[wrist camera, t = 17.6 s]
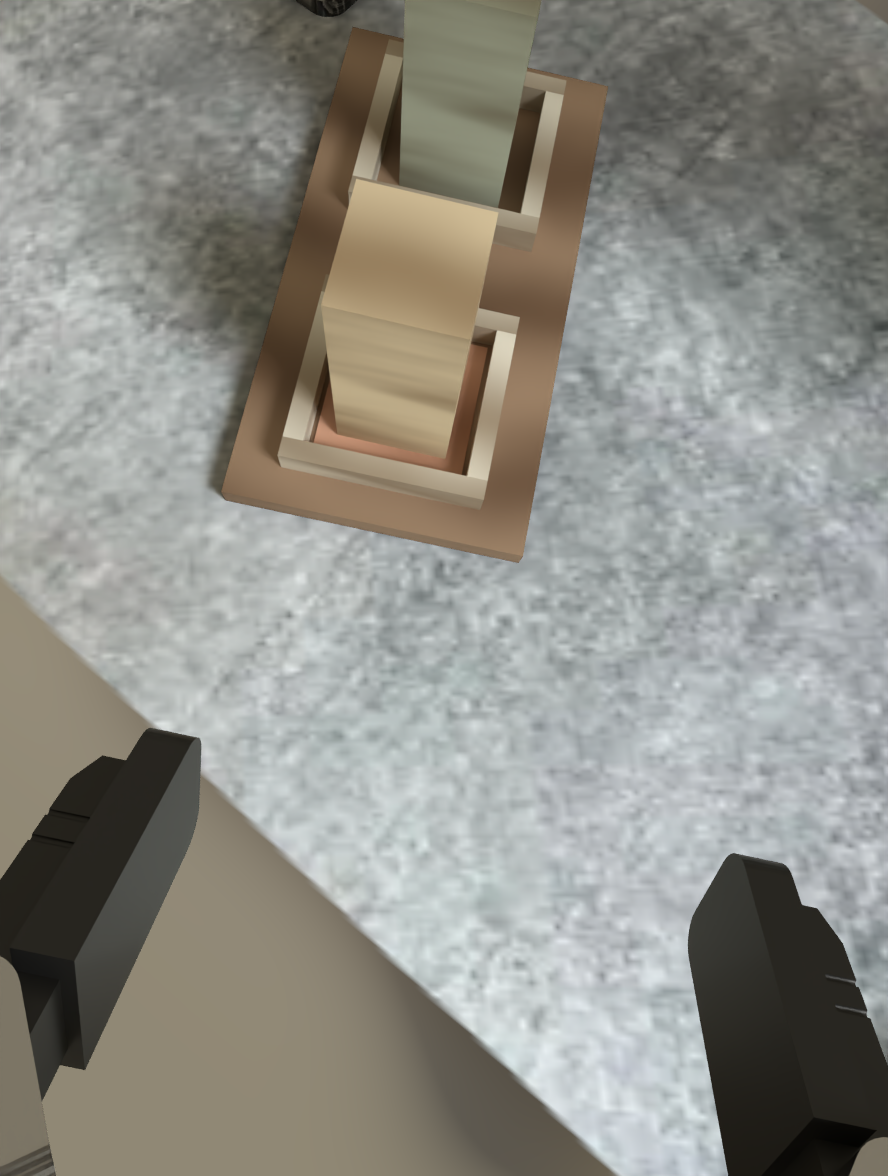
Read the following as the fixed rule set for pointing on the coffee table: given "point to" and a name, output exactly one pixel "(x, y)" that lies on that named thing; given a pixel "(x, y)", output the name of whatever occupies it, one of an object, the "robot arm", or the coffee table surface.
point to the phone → (327, 6)
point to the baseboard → (509, 296)
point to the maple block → (403, 314)
